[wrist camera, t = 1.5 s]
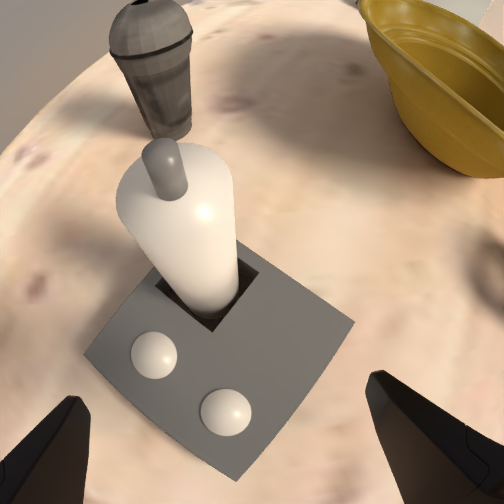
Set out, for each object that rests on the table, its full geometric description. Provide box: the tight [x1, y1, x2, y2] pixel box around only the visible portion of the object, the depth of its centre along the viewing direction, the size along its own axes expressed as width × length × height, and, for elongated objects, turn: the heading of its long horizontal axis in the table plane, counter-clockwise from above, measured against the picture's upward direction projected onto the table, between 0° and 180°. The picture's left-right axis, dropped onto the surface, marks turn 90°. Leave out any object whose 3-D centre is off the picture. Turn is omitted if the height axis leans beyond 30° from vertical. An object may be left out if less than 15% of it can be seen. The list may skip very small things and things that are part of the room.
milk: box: [478, 0, 504, 46], centre depth 40 cm, size 12×12×26 cm
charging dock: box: [83, 240, 355, 482], centre depth 20 cm, size 14×14×3 cm
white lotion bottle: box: [116, 138, 239, 319], centre depth 16 cm, size 4×4×16 cm
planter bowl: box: [357, 0, 504, 179], centre depth 26 cm, size 32×32×13 cm
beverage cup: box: [109, 0, 193, 141], centre depth 21 cm, size 7×7×20 cm
